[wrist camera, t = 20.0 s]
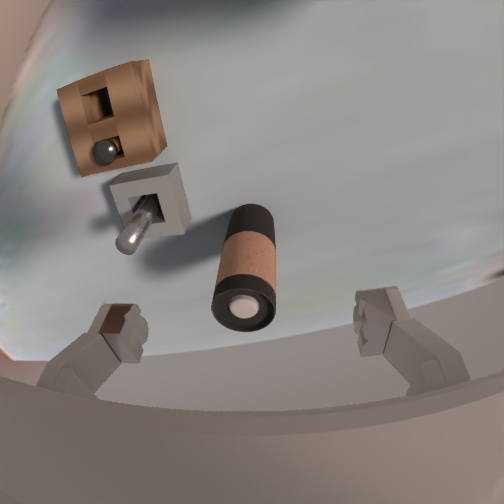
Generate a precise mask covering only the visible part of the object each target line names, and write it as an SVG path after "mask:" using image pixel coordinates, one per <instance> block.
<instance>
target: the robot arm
mask: <svg viewBox="0 0 504 504" xmlns="http://www.w3.org/2000/svg"><path fill="white" fill-rule="evenodd" d="M355 301H356V304H357V305H356V306H355V307H354V313H353V322H354V328H355V333H356V334H358V335H359V336H358V347H359V351H360V356H361V357H364V356H373V355H382V354H383V356H384V357H385V358H386V359H387V360H388V361H389V363H390V364H391V365H392V366H393V367H394V368H395V369H396V370H397V371H398V372H399V373H400V374H401V375H402V376H403V377H404V378H405V380H406V381H407V382H408V383H409V384H410V387H409V389H408V391H407V393H406V395H405V396H403V397H398V398H392V399H387V400H381V401H374V402H368V403H361V404H353V405H345V406H336V407H326V408H315V409H302V410H285V411H255V412H254V411H253V412H252V411H248V412H237V411H233V412H230V411H200V410H182V409H168V408H158V407H149V406H139V405H132V404H124V403H118V402H111V401H104V400H100V399H99V398H98V397H97V396H96V395H95V394H94V393H95V392H96V391H97V390H98V388H100V386H101V385H102V384H103V383H104V382H105V381H106V380H107V379H108V378H109V377H110V376H111V374H112V373H113V372H114V371H115V370H116V369H117V368H118V367H119V365H120V364H121V363H139V362H140V359H141V356H142V353H143V348H142V345H143V344H144V343H145V342H146V341H147V338H148V325H147V322H146V320H145V318H143V317H142V316H141V315H140V312H141V310H140V308H139V306H138V305H137V304H103V305H101V307H100V309H99V311H98V313H97V315H96V317H95V319H94V321H93V323H92V325H91V327H90V329H89V331H88V333H84V334H82V335H81V336H80V337H79V338H77V339H76V340H75V341H74V342H72V343H71V344H70V345H69V346H67V347H66V348H65V349H64V350H63V351H61V352H60V353H59V354H58V355H56V356H55V357H54V358H53V359H51V360H50V361H49V362H48V363H47V364H46V366H45V368H44V370H43V372H42V374H41V376H40V379H39V381H38V383H37V385H36V386H35V385H31V384H27V383H24V382H20V381H17V380H13V379H10V378H7V377H4V376H0V504H504V370H502V371H499V372H496V373H493V374H489V375H486V376H483V377H480V378H477V379H473V380H471V379H470V377H469V374H468V371H467V368H466V366H465V363H464V361H463V358H462V356H461V353H460V352H459V351H458V350H456V349H455V348H453V347H452V346H451V345H450V344H448V343H447V342H446V341H444V340H443V339H442V338H441V337H439V336H438V335H437V334H435V333H434V332H433V331H431V330H430V329H429V328H427V327H426V326H424V325H423V324H422V323H420V322H419V321H418V320H416V319H415V318H412V319H411V318H410V315H409V313H408V310H407V308H406V305H405V303H404V300H403V298H402V295H401V293H400V291H399V288H398V287H397V286H392V287H384V288H376V289H367V290H358V291H356V295H355Z"/></svg>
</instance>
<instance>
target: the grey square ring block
mask: <svg viewBox="0 0 504 504" xmlns="http://www.w3.org/2000/svg"><path fill="white" fill-rule="evenodd" d="M110 189H111V192H112V195H113V198H114V201H115V204H116V207H117V210H118V212H119V215H120V218H121V221H122V223H123V226H124V227H125V226H126V224H127V223H128V222H129V220H130V219H131V217H132V216H133V215H134V213H135V212H136V210H137V209H138V208H139V206H140V205H141V203H142V202H143V201H144V199H143V195H147V194H154V193H157V195H158V199H159V202H160V205H161V209H160V210H159V212H158V213H157V215H156V217H155V218H154V220H153V222H152V223H151V225H150V227H149V228H148V230H147V232H146V233H145V235H144V237H143V239H144V238H153V237H163V236H173V235H183V234H185V232H186V230H187V227H188V225H189V223H190V220H191V215H190V211H189V207H188V203H187V199H186V195H185V191H184V187H183V183H182V179H181V175H180V171H179V167H178V163H173V164H167V165H162V166H156V167H151V168H145V169H140V170H135V171H130V172H125V173H122V174H121V175H120V176H119V177H118V178H117V179H116V180H115V181H113V182H112V183H111V184H110Z"/></svg>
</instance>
